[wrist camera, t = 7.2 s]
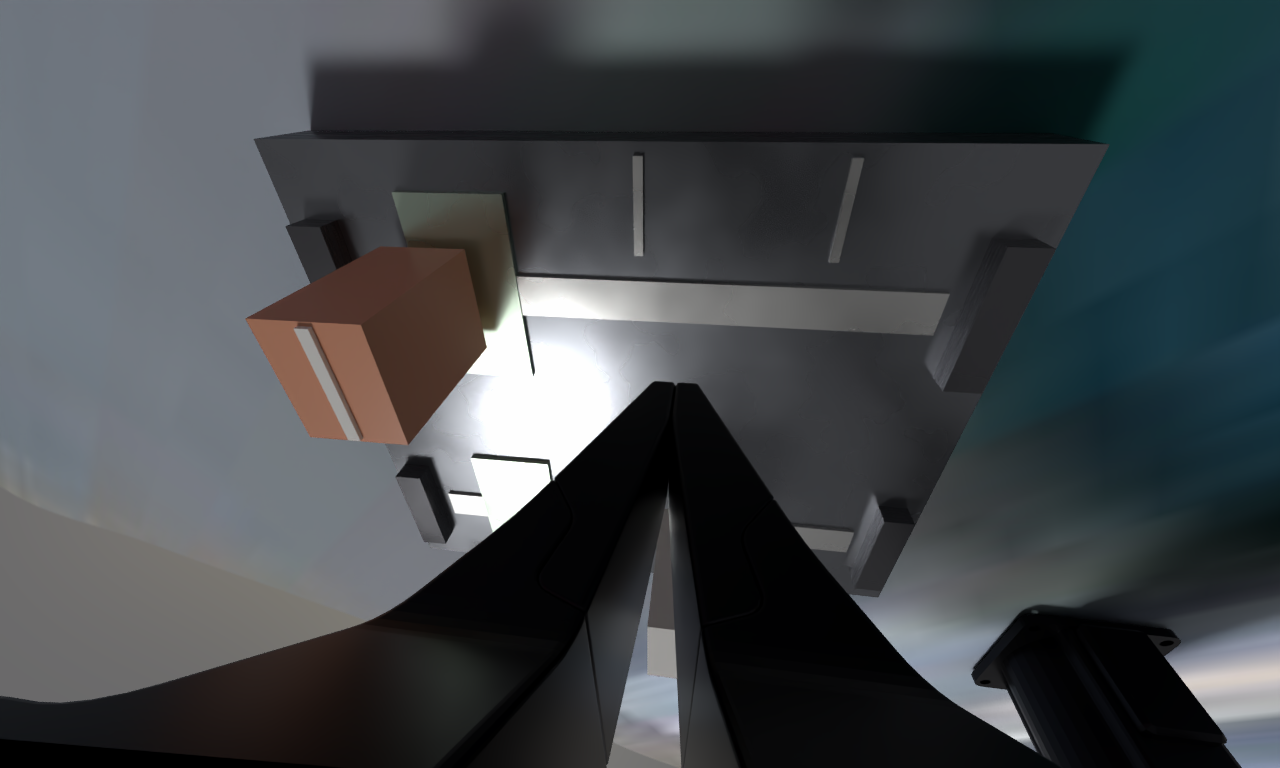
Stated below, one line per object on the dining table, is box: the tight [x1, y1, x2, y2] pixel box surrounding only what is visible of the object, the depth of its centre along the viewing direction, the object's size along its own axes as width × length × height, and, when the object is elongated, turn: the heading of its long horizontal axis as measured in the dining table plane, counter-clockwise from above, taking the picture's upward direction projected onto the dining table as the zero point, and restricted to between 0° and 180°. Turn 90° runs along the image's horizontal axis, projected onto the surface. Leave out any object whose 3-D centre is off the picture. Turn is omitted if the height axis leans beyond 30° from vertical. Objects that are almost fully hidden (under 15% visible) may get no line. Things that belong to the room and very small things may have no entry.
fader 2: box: [648, 509, 677, 679], centre depth 16 cm, size 3×2×4 cm
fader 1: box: [246, 246, 487, 445], centre depth 11 cm, size 3×2×4 cm
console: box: [254, 131, 1109, 597], centre depth 16 cm, size 17×20×3 cm
